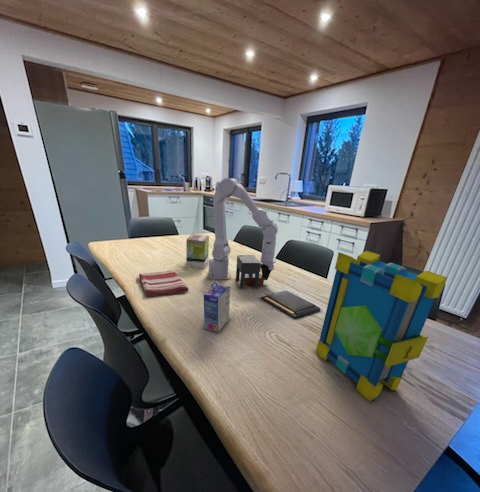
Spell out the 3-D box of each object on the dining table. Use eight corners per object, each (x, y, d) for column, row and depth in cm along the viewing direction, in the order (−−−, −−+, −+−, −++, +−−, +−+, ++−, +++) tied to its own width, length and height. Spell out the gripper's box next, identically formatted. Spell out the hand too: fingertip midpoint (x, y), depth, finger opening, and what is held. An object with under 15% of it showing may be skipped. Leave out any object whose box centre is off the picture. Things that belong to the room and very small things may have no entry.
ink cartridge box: (215, 315, 94) (216, 277, 87) (229, 318, 92) (231, 280, 86) (202, 328, 85) (202, 287, 79) (218, 332, 84) (220, 290, 77)
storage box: (244, 286, 120) (245, 277, 119) (241, 281, 126) (242, 273, 124) (263, 286, 122) (264, 277, 121) (259, 281, 128) (260, 273, 126)
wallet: (322, 306, 102) (294, 314, 94) (321, 310, 103) (293, 319, 95) (287, 288, 117) (260, 294, 109) (286, 291, 118) (259, 298, 110)
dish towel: (146, 297, 103) (146, 291, 102) (138, 277, 121) (137, 271, 120) (188, 292, 110) (188, 286, 109) (174, 273, 129) (174, 268, 127)
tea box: (205, 268, 138) (205, 240, 132) (185, 267, 138) (185, 239, 132) (208, 260, 152) (209, 234, 145) (191, 259, 152) (191, 233, 145)
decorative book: (366, 407, 60) (413, 284, 47) (305, 349, 78) (326, 250, 65) (408, 391, 65) (460, 278, 52) (341, 341, 84) (368, 248, 71)
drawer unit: (240, 288, 117) (242, 262, 112) (235, 279, 128) (237, 254, 123) (261, 288, 119) (264, 262, 114) (254, 279, 130) (257, 255, 125)
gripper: (282, 255, 113) (278, 285, 119) (271, 247, 126) (268, 274, 132) (266, 255, 111) (262, 285, 117) (257, 247, 124) (255, 274, 130)
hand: (265, 279), depth 124 cm, fingers closed, pressing on storage box
